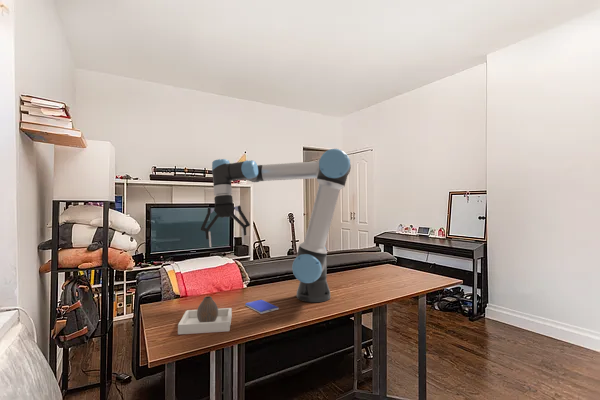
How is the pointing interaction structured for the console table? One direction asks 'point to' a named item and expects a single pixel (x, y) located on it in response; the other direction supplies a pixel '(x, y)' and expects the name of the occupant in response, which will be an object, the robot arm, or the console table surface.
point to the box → (192, 324)
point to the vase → (207, 310)
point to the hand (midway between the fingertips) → (227, 245)
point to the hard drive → (261, 306)
